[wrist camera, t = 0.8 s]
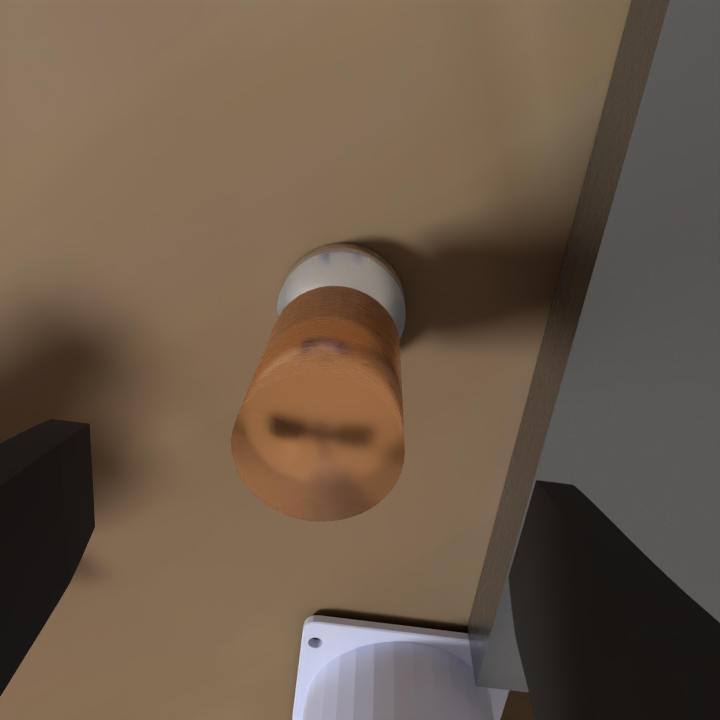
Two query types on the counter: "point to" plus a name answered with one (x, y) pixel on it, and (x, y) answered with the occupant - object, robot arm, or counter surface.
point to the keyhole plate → (631, 331)
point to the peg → (327, 390)
